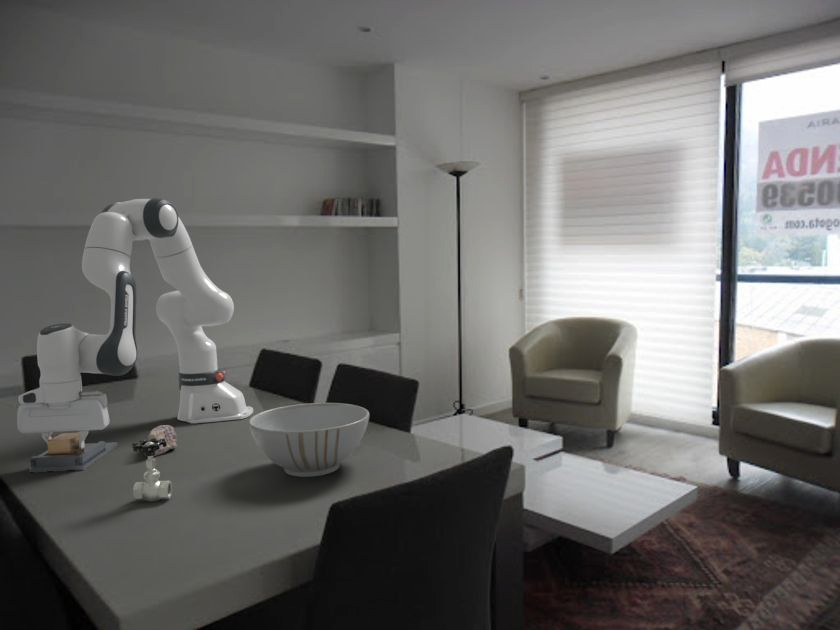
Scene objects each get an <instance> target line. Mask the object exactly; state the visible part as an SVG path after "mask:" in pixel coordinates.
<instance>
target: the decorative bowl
mask: <svg viewBox="0 0 840 630" xmlns="http://www.w3.org/2000/svg"><path fill="white" fill-rule="evenodd" d="M369 420H370V412H369V410H368V409H366V408H365V407H362V406H359V405H355V404H349V403H341V402H314V403H300V404H293V405H292V404H290V405H286V406H285V405H284V406H280V407H275V408H271V409H268V410H264V411H261V412H258V413H257V414H255V415H252V416H251V417H250V419H249V420H248V428H249V430H250V433H251V436H252V437H253V440H254V441H255V443H256V445H257V446H258V448H259V449H260V451H261V452H262V453H263V454H264V455H265V456H266V457H267V458H268V459H269V460H270V461H271V462H273V463H274V464H275V465H277V466H279V467H281V468H283V469H284V472H285V473H286V474H288V475H290V476H293V477H300V478H301V477H303V478H304V477H305V478H307V477H308V478H309V477H319V476H325V475H328V474H331V473H334V472H335V471H337V470H338V469H339V468H340V466H341V465H340V463H343V462H344V461H345V460H346V459H348V458H349V457H350V456H351V455H352V454H353V453H354V451H355V450H356V449H357V448H358V446H359V445H360V443H361V441H362V439H363V437H364V436H365V433H366V430H367V427H368V424H369Z"/></svg>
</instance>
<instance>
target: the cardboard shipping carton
mask: <svg viewBox="0 0 840 630" xmlns="http://www.w3.org/2000/svg"><path fill="white" fill-rule="evenodd" d="M80 437H81V435H79V432H66V433H65V432H64V433H62V432H61V433H60V434H58V435H56V436H54V437H51V438H52V439H51V440H49V441H48V444H47V450H48V452H49V456H51V455H72V454H81V453H83V452H84V448H83V449H76V448H75V442H76V441H78V440H79V439H80Z"/></svg>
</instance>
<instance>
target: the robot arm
mask: <svg viewBox="0 0 840 630" xmlns="http://www.w3.org/2000/svg"><path fill="white" fill-rule="evenodd" d="M145 240H148V241H149V243H150V247H151V250H152V252H153V256H154V259H155V261H156V263H157V266H158V269H159V272H160V274H161V276H162V279H163V280H164V282H165V283H167V284H169V285H170V286H172V287H173V288H175V289H176V290H174V291H173V290H172V291H170V292H169V291H168V292H165V293H163V294H161V295H160V296H159V298H158V299H157V301H156V304H155V312H156V315H157V318H158V319H159V321H161V322H162V323H163V324H164V325H165V326H166V327H167V329H168V330H169V332H170V333H171V335H172V337H173V339H174V342H175V344H176V348H177V354H178V355H177V356H178V364H179V366H178V367H179V372H178V388H179V391H180V395H179V396H180V397H179V407H178V414H177V417H176V419H177V420H179V421H182V422H187V423H189V424H200V423H201V424H203V423H214V422H215V423H216V422H224V421H235V420H236V421H237V420H242V419H246V418H248V417H251V415H252V414H253V413H254V408H253V407H252V406H247V404H246V400H245V396H244V393H242V391H241V390H239V389H238V388H236V387H235V386H233V385H231V384H229V383H228V382H227V381H225V380H226V378H225V377H226V376H225V375H226V374H225V373H226V371H225V370H223V371H222V370H221V369H219V368H218V354H217V353H218V352H217V345H216V344H215V342H214V341H213V340H212V339H211V338H209V337H207V335H206V333H205V331H204V329H203V327H215V326H216V327H217V326H220V325H224V324H227V323H229V322H230V320H231V319H232V317H233V315H234V312H235V303H234V301H233V299H232V297H231V295H230V294H228V293H227V292H225V291H224V290H222V289H220V288H219V287H218V286H217V285H216V284H214V282H213V281H212V280H211V279H210V278H209V277H208V275H207V274H206V272H205V271H204V269H203V268H202V266H201V263H200V262H199V261H200V260H199V259H198V256H197V253H196V250H195V248H194V246H193V243H192V240H191V237H190V235H189V233H188V231H187V228H186V227H185V225H184V223H183V222H182V220H181V218H180V217H179V215H178V212H177V209H176V207H175V206H174V205H173V204H172V203H171V202H170V201H169V200H167V199H163V198H156V197H153V198H135V199H130V200H126V201H122V202H120V201H117V202H113V203H111V204H110V203H109V204H108V205H107V206H105V207H104V208H103V210H102V212H101V213H99V214H98V215H96V216H95V217H94V218H93V221H92V223H91V226H90V229H89V231H88V233H87V236H86V241H85V244H84V248H83V254H82V258H81V270H82V273H83V275H84V277H85V279H86V280H87V281H88V282H89V283H91V284H92V285H93V286H95V287H96V288H99V289H101V290H103V291H104V292H106V293H107V295H108V296H109V298H110V320H109V322H110V323H109V331H108V332H107V334H95V333H89V332H84V331H83V330H80V329H78V328H76V327H75V326H74V324H71V323H57V324H53V325H49V326H45V327H44V328H42V329H41V330H39V333H38V336H37V341H36V356H37V357H36V358H37V366H38V368H39V371H40V377H39V382H38V383H39V387H36V388H33V389H32V390H29V391H25V393H22V394H20V395H19V396H18V402H19V404H20V405H19V407H18V408H17V416H16V418H17V420H16V424H17V430H18V431H19V432H20V433H21V434H39V433H40V434H41V438H42V439H43V440H44V442H45V443H46V444H47V445H48V441H49V440H51V439H52V438H53V437H52V436H51V435H52V434H53V433H58V432H59V433H60V432H61V433H62V432H64V433H65V432H78V433H79V435H81V437H80V439H79V440H78V441H76V442H75V448H76V449H83V448H84V446H85V444H86V443H85V440H86V438H87V436H88V435H89V431H102V430H104V429H106V428H107V427H108V426H109V424H110V422H111V421H110V415H109V410H108V397H107V395H106V394H105V393H104V392H101V391H100V390H93V391H89V390H88V391H87V390H86V391H85V390H84V391H83V384H82V383H83V382H82V381H83V380H82V375H81V373H89V374H103V375H109V376H114V377H115V376H116V377H121V376H124V375H126V374H127V373H128V372H130V371H131V370H132V368H133V367H134V366H135V364H136V362H137V360H138V347H137V346H138V345H137V340H136V339H137V338H136V331H137V330H136V329H137V327H136V325H137V284H136V280H135V279H136V278H135V277H134V276H133V275H132V274H131V268H130V267H131V257H132V251H133V242H134V241H145Z"/></svg>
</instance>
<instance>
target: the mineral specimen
mask: <svg viewBox="0 0 840 630" xmlns="http://www.w3.org/2000/svg"><path fill="white" fill-rule="evenodd" d="M177 437H178V436H177V433H176V431H175V430H174V427H173V426H172V425H170V424H165V425H164V424H162V425H159V426H156V427H154V428H153V429H151V431H149V434H148V435H147V438H148V440H151V439H152V438H157V440H160V439H163V438H164V439H165V441H167V446H166V447H163V445H161V446H160V449H159V450H157V451H155V453H156V454H155V455H153V458H154V457H156V456H157V457H158V456H160V455H162V454H165V453H166V452H168V451H170V449H171V450H174V448H175V449H176V447H178V445H177V442H178V439H177ZM154 444H155V443H154Z"/></svg>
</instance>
